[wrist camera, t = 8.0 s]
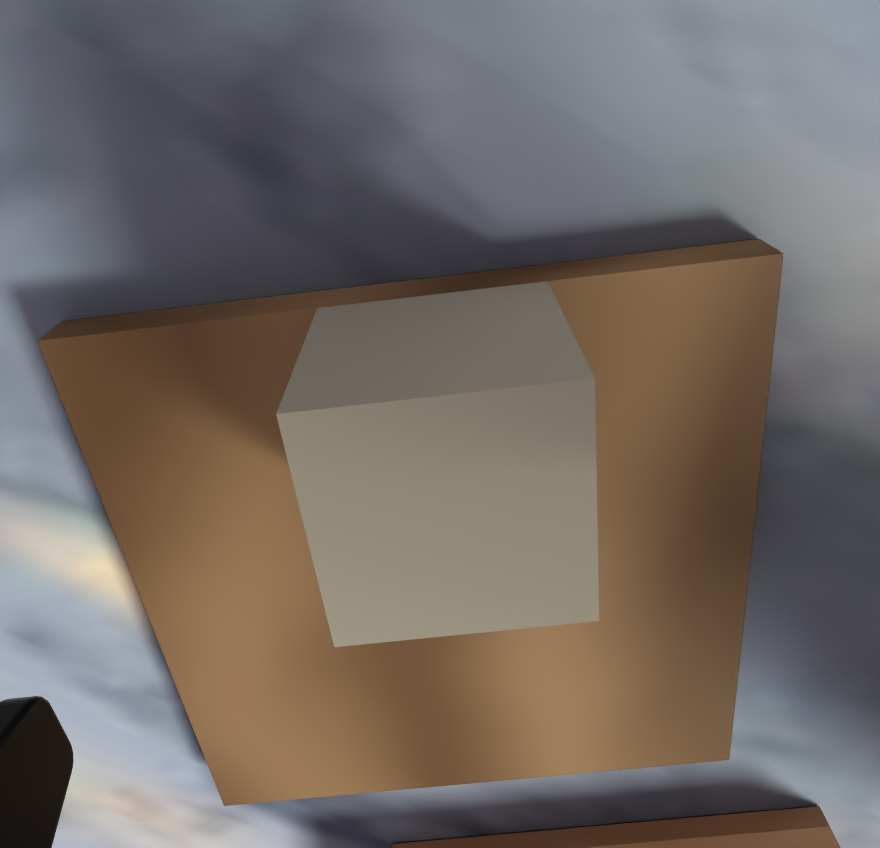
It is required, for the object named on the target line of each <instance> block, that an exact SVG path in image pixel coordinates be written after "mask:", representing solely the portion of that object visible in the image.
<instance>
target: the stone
mask: <svg viewBox="0 0 880 848" xmlns="http://www.w3.org/2000/svg"><path fill="white" fill-rule="evenodd" d="M276 416H277V420H278V424H279V428H280V432H281V436H282V440H283V444H284V448H285V452H286V456H287V460H288V464H289V468H290V472H291V476H292V480H293V484H294V488H295V492H296V496H297V500H298V504H299V508H300V512H301V516H302V520H303V524H304V528H305V532H306V536H307V540H308V544H309V548H310V552H311V556H312V560H313V564H314V568H315V572H316V576H317V580H318V584H319V588H320V592H321V596H322V600H323V604H324V608H325V612H326V616H327V620H328V624H329V628H330V632H331V636H332V640H333V644H334V647H342V646H352V645H362V644H372V643H382V642H392V641H402V640H412V639H422V638H432V637H443V636H453V635H463V634H473V633H483V632H493V631H503V630H513V629H523V628H533V627H543V626H553V625H564V624H574V623H584V622H594V621H599V581H598V522H597V463H596V404H595V377H594V375H593V373H592V371H591V369H590V367H589V365H588V363H587V361H586V359H585V357H584V355H583V353H582V351H581V349H580V347H579V345H578V343H577V341H576V339H575V336H574V334H573V332H572V330H571V328H570V326H569V324H568V322H567V320H566V318H565V316H564V314H563V312H562V310H561V308H560V306H559V304H558V302H557V300H556V298H555V296H554V294H553V292H552V290H551V287H550V285H549V283H548V281H545V282H537V283H528V284H520V285H511V286H502V287H494V288H485V289H477V290H468V291H460V292H451V293H443V294H434V295H426V296H417V297H409V298H400V299H392V300H383V301H375V302H366V303H357V304H349V305H340V306H332V307H323V308H317V310H316V313H315V315H314V318H313V321H312V323H311V326H310V328H309V331H308V333H307V336H306V339H305V341H304V344H303V346H302V349H301V351H300V354H299V357H298V359H297V362H296V364H295V367H294V369H293V372H292V375H291V377H290V380H289V382H288V385H287V387H286V390H285V393H284V395H283V398H282V400H281V403H280V405H279V408H278V411H277V413H276Z"/></svg>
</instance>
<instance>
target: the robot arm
mask: <svg viewBox="0 0 880 848" xmlns="http://www.w3.org/2000/svg"><path fill="white" fill-rule="evenodd" d="M72 768H73V751H72V746H71V744H70V741H69V739H68V738H67V736H66V734H65V732H64V730H63V728H62V726H61V724H60V722H59V720H58V718H57V716H56V715H55V713H54V711H53V709H52V707H51V705H50V703H49V702H48V701H47V700H45V699H44V698H42V697H38V696H33V697H23V698H13V699H7V700H3V701H1V702H0V848H51V847H52V844H53V840H54V836H55V832H56V829H57V825H58V821H59V817H60V814H61V810H62V806H63V802H64V799H65V795H66V791H67V787H68V784H69V780H70V776H71V773H72Z"/></svg>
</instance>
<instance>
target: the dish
mask: <svg viewBox="0 0 880 848" xmlns="http://www.w3.org/2000/svg"><path fill="white" fill-rule="evenodd" d="M392 848H840V846H839V844H838V842H837V840H836V838H835V836H834V834H833V832H832V830H831V828H830V826H829V824H828V822H827V820H826V818H825V816H824V814H823V812H822V811H821V809H820V807H819V806H817V807H806V808H794V809H783V810H772V811H760V812H749V813H738V814H726V815H715V816H704V817H692V818H681V819H670V820H659V821H647V822H636V823H625V824H613V825H602V826H591V827H579V828H568V829H557V830H545V831H534V832H523V833H512V834H500V835H489V836H478V837H466V838H455V839H444V840H432V841H421V842H410V843H398V844H392Z"/></svg>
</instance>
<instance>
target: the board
mask: <svg viewBox="0 0 880 848" xmlns="http://www.w3.org/2000/svg"><path fill="white" fill-rule="evenodd" d="M782 261H783V253H781V252H780V251H778V250H777V249H775V248H773V247H772V246H770V245H769V244H767V243H765V242H764V241H762V240H761V239H754V240H746V241H737V242H729V243H720V244H712V245H703V246H695V247H687V248H678V249H670V250H661V251H653V252H644V253H636V254H627V255H619V256H610V257H602V258H593V259H585V260H577V261H568V262H560V263H551V264H543V265H534V266H526V267H517V268H509V269H500V270H492V271H483V272H475V273H466V274H458V275H450V276H441V277H433V278H424V279H416V280H407V281H399V282H390V283H382V284H373V285H365V286H356V287H348V288H340V289H331V290H323V291H314V292H306V293H297V294H289V295H280V296H272V297H263V298H255V299H246V300H238V301H229V302H221V303H213V304H204V305H196V306H187V307H179V308H170V309H162V310H153V311H145V312H136V313H128V314H119V315H111V316H103V317H94V318H86V319H77V320H69V321H62V322H61V323H59V324H58V325H57V326H56V327H54V328H53V329H52V330H51V331H49V332H48V333H47V334H46V335H44V336H43V337H42V338H41V339H39V340H38V344H39V346H40V349H41V351H42V354H43V356H44V359H45V361H46V364H47V366H48V369H49V371H50V374H51V376H52V379H53V381H54V384H55V386H56V389H57V391H58V394H59V396H60V399H61V401H62V404H63V406H64V409H65V411H66V413H67V416H68V418H69V421H70V423H71V426H72V428H73V431H74V433H75V436H76V438H77V441H78V443H79V446H80V448H81V451H82V453H83V456H84V458H85V461H86V463H87V466H88V468H89V471H90V473H91V476H92V478H93V481H94V483H95V486H96V488H97V491H98V493H99V496H100V498H101V501H102V503H103V506H104V508H105V511H106V513H107V516H108V518H109V521H110V523H111V525H112V528H113V530H114V533H115V535H116V538H117V540H118V543H119V545H120V548H121V550H122V553H123V555H124V558H125V560H126V563H127V565H128V568H129V570H130V573H131V575H132V578H133V580H134V583H135V585H136V588H137V590H138V593H139V595H140V598H141V600H142V603H143V605H144V608H145V610H146V613H147V615H148V618H149V620H150V623H151V625H152V628H153V630H154V633H155V635H156V638H157V640H158V642H159V645H160V647H161V650H162V652H163V655H164V657H165V660H166V662H167V665H168V667H169V670H170V672H171V675H172V677H173V680H174V682H175V685H176V687H177V690H178V692H179V695H180V697H181V700H182V702H183V705H184V707H185V710H186V712H187V715H188V717H189V720H190V722H191V725H192V727H193V730H194V732H195V735H196V737H197V740H198V742H199V745H200V747H201V750H202V752H203V755H204V757H205V759H206V762H207V764H208V767H209V769H210V772H211V774H212V777H213V779H214V782H215V784H216V787H217V789H218V792H219V794H220V797H221V799H222V802H223V804H224V806H228V805H239V804H250V803H261V802H272V801H283V800H294V799H305V798H316V797H326V796H337V795H348V794H359V793H370V792H381V791H392V790H403V789H414V788H425V787H436V786H447V785H458V784H469V783H480V782H491V781H502V780H513V779H524V778H535V777H546V776H557V775H568V774H579V773H589V772H600V771H611V770H622V769H633V768H644V767H655V766H666V765H677V764H688V763H699V762H710V761H721V760H729V756H730V747H731V738H732V728H733V719H734V709H735V700H736V691H737V681H738V672H739V663H740V653H741V644H742V635H743V625H744V616H745V607H746V597H747V588H748V579H749V569H750V560H751V550H752V541H753V532H754V522H755V513H756V504H757V494H758V485H759V476H760V466H761V457H762V448H763V438H764V429H765V420H766V410H767V401H768V392H769V382H770V373H771V363H772V354H773V345H774V335H775V326H776V317H777V307H778V298H779V289H780V279H781V270H782ZM545 281H548V283H549V285H550V287H551V290H552V292H553V294H554V296H555V298H556V300H557V302H558V304H559V306H560V308H561V310H562V312H563V314H564V316H565V318H566V320H567V322H568V324H569V326H570V328H571V330H572V332H573V334H574V336H575V339H576V341H577V343H578V345H579V347H580V349H581V351H582V353H583V355H584V357H585V359H586V361H587V363H588V365H589V367H590V369H591V371H592V373H593V375H594V377H595V404H596V463H597V522H598V581H599V621H594V622H584V623H574V624H564V625H553V626H543V627H533V628H523V629H513V630H503V631H493V632H483V633H473V634H463V635H453V636H443V637H432V638H422V639H412V640H402V641H392V642H382V643H372V644H362V645H352V646H342V647H334V644H333V640H332V636H331V632H330V628H329V624H328V620H327V616H326V612H325V608H324V604H323V600H322V596H321V592H320V588H319V584H318V580H317V576H316V572H315V568H314V564H313V560H312V556H311V552H310V548H309V544H308V540H307V536H306V532H305V528H304V524H303V520H302V516H301V512H300V508H299V504H298V500H297V496H296V492H295V488H294V484H293V480H292V476H291V472H290V468H289V464H288V460H287V456H286V452H285V448H284V444H283V440H282V436H281V432H280V428H279V424H278V420H277V416H276V413H277V411H278V408H279V405H280V403H281V400H282V398H283V395H284V393H285V390H286V387H287V385H288V382H289V380H290V377H291V375H292V372H293V369H294V367H295V364H296V362H297V359H298V357H299V354H300V351H301V349H302V346H303V344H304V341H305V339H306V336H307V333H308V331H309V328H310V326H311V323H312V321H313V318H314V315H315V313H316V310H317V308H323V307H332V306H340V305H349V304H357V303H366V302H375V301H383V300H392V299H400V298H409V297H417V296H426V295H434V294H443V293H451V292H460V291H468V290H477V289H485V288H494V287H502V286H511V285H520V284H528V283H537V282H545Z"/></svg>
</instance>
